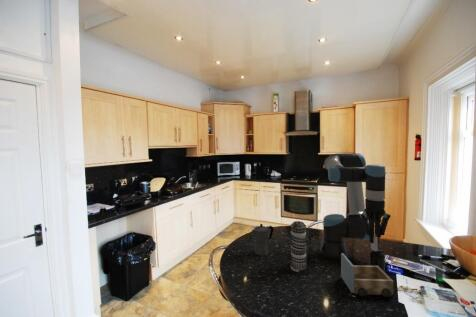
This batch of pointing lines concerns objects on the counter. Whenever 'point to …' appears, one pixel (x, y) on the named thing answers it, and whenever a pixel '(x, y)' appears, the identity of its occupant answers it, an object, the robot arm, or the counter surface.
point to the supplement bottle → (377, 258)
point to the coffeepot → (262, 239)
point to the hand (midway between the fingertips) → (374, 249)
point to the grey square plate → (347, 272)
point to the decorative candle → (298, 246)
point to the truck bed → (372, 281)
